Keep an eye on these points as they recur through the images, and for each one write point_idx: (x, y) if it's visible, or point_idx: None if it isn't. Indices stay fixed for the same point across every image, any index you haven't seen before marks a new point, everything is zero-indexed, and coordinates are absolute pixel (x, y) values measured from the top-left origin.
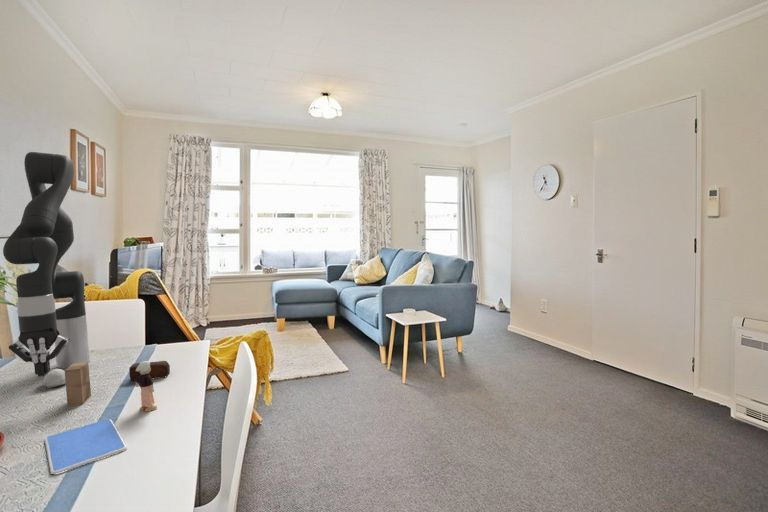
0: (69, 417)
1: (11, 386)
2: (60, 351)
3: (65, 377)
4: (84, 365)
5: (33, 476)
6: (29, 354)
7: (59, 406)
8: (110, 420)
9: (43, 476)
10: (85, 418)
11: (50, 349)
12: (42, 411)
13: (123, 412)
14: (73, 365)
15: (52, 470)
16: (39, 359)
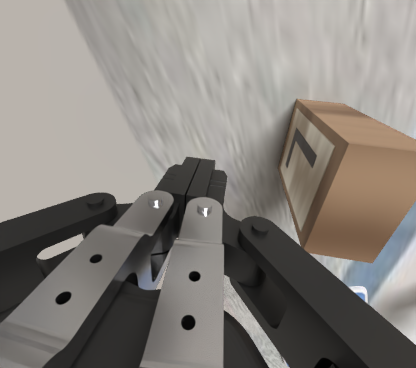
0: (289, 236)
1: None
2: (307, 258)
3: (296, 227)
4: (402, 212)
5: (267, 355)
6: (75, 229)
7: (256, 155)
8: (365, 299)
9: (277, 359)
10: (320, 257)
11: (222, 256)
12: (220, 168)
13: (397, 270)
14: (346, 195)
15: (286, 364)
16: (172, 243)
